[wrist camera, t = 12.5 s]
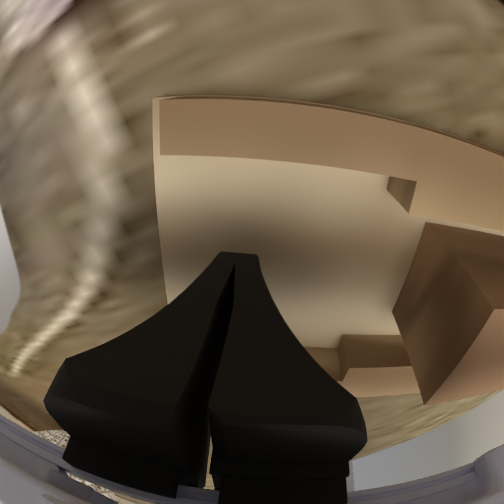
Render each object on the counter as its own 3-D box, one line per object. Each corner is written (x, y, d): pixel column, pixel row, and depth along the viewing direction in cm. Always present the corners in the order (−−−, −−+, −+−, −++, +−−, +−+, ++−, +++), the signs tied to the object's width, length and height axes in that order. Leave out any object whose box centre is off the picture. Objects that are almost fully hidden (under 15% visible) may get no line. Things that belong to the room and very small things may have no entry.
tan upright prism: (502, 311, 12) (540, 376, 8) (391, 311, 12) (424, 405, 8) (536, 243, 10) (591, 303, 5) (425, 221, 10) (493, 309, 6)
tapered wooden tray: (485, 345, 15) (501, 377, 12) (180, 339, 15) (166, 383, 13) (561, 183, 9) (595, 206, 6) (163, 96, 9) (125, 102, 7)
